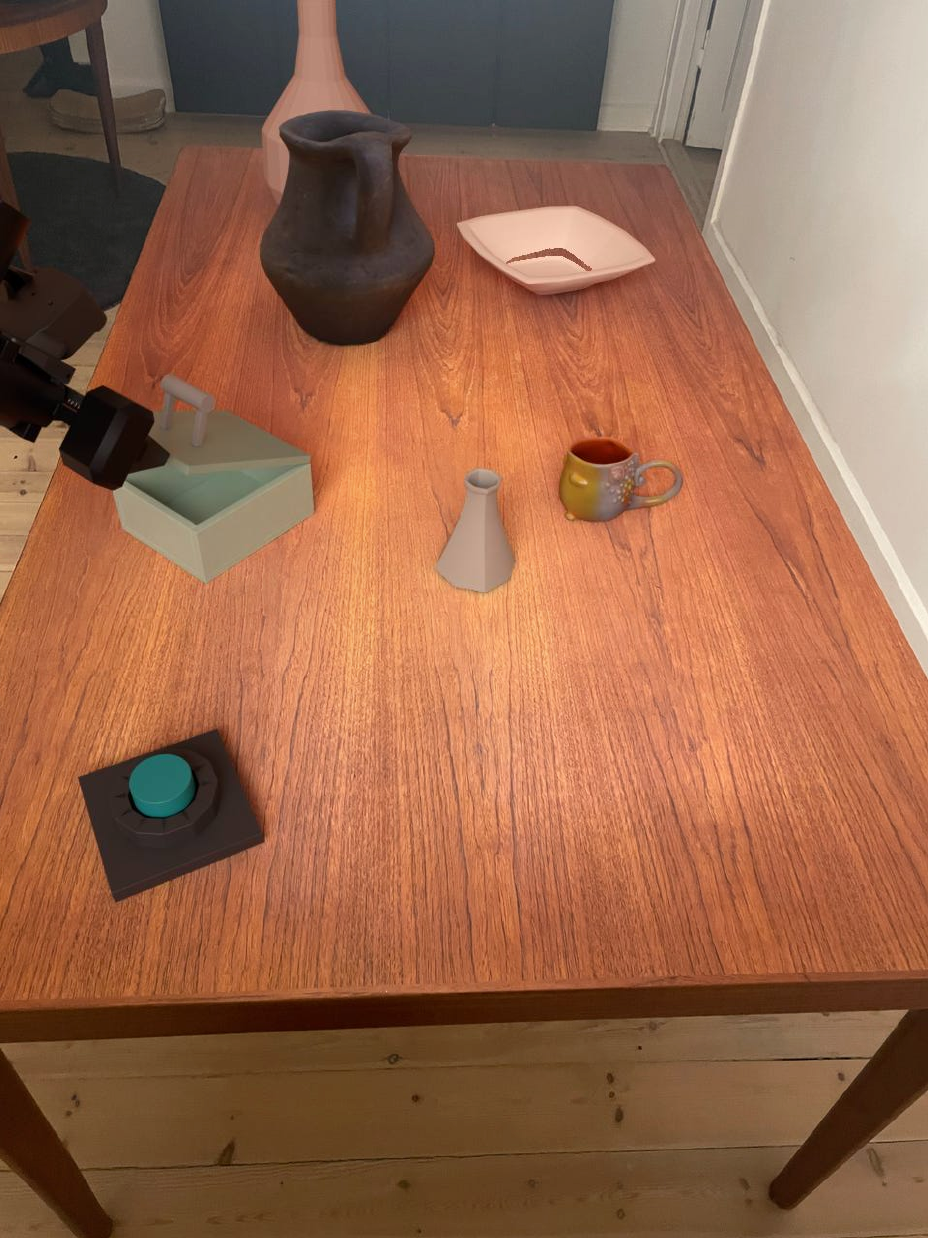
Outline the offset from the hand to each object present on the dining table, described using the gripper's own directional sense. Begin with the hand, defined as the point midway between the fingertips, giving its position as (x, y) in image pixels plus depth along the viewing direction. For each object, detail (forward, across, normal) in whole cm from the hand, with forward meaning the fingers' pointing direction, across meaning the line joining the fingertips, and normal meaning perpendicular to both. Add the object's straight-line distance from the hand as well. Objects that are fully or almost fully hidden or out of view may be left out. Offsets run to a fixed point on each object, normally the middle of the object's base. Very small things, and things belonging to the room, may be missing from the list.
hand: (128, 436), depth 73 cm
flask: (+22, -22, -4) cm, 32 cm away
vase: (+56, +42, -38) cm, 80 cm away
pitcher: (+40, +17, -22) cm, 49 cm away
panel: (-2, -22, +21) cm, 31 cm away
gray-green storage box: (+14, 0, +4) cm, 15 cm away
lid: (+8, 0, -2) cm, 9 cm away
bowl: (+61, +7, -44) cm, 75 cm away
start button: (-4, -22, +19) cm, 30 cm away
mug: (+34, -28, -16) cm, 46 cm away
